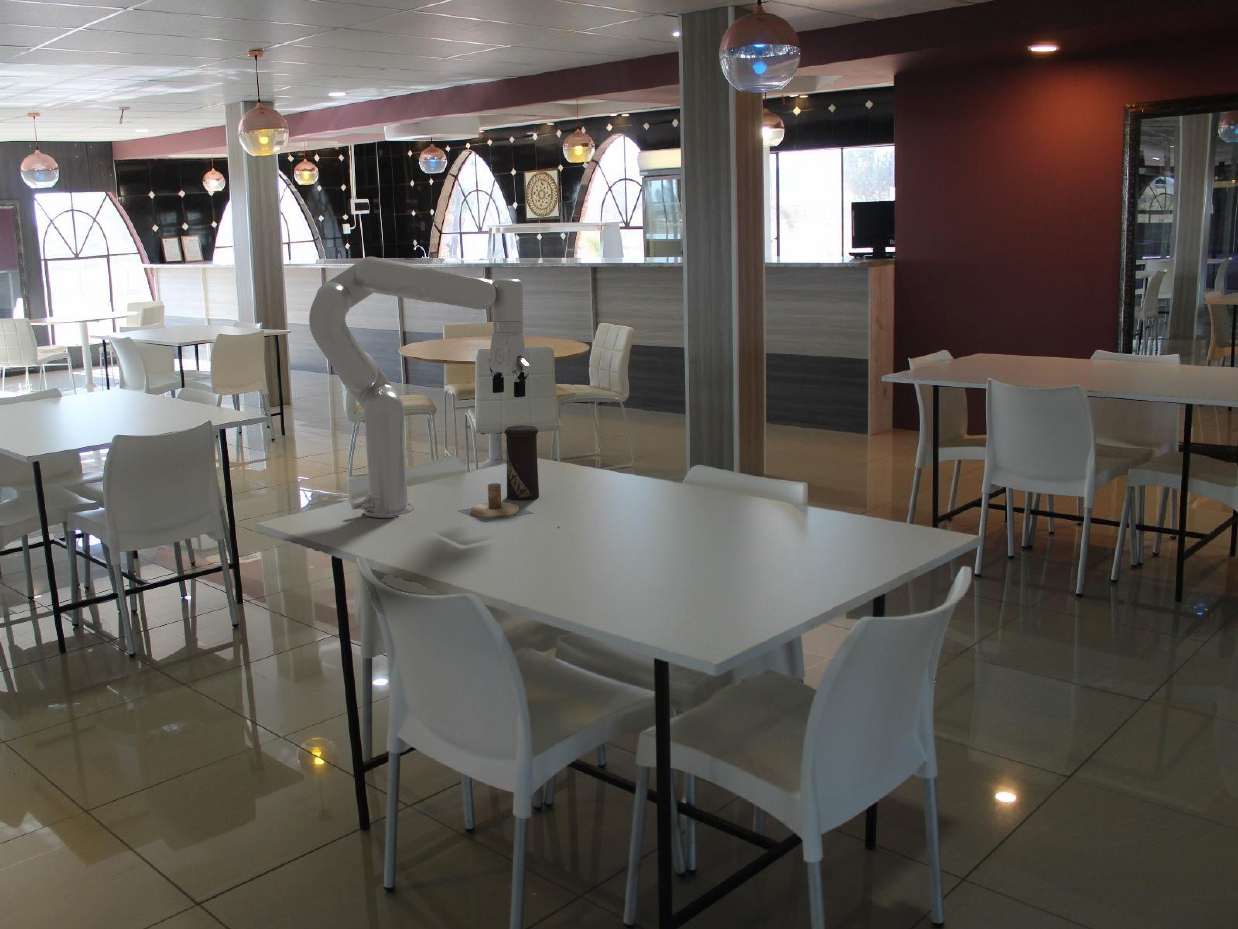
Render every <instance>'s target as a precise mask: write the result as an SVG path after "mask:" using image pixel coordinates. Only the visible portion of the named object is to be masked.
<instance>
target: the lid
mask: <svg viewBox="0 0 1238 929" xmlns="http://www.w3.org/2000/svg"><path fill="white" fill-rule="evenodd" d="M501 486H502V484H501V483H497V482H495V483H488V484H487V497H488V498H487V499H488V502H483V503H480V504H479V503H478V504H476V505H473V506H472V507H470V508H471V514H473V515H474V516H478V517H484V518H500V517H508V516H512V515H515V514H517V513H518V512H519V508H520V506H519V505H518V504H516V503H512V502H507V501H506V502H505V501H502V487H501Z"/></svg>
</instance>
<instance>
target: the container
mask: <svg viewBox="0 0 1238 929" xmlns="http://www.w3.org/2000/svg"><path fill="white" fill-rule="evenodd" d="M538 433H539V429H538V428H537V427H536V426H533V425H527V424H525V425H522V424H521V425H519V424H518V425H512V426H507V427H506V428H505V429H504V434H505V437H506V440H505V442H506V499H507V500H509V501H519V502H521V501H523V502H524V501H534V500H537V499H539V498H540V490H539V489H540V488H539V487H540V485H539V470H538V469H539V467H538V448H537V447H538V445H537V444H538V442H537V440H538V438H537V437H538V436H537V435H538Z"/></svg>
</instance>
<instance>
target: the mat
mask: <svg viewBox="0 0 1238 929" xmlns="http://www.w3.org/2000/svg"><path fill="white" fill-rule="evenodd" d="M471 508H472V507H470V508H465V509H464V508H463V509H459V510H457V512H459V513H461V514H464V515H466V516H469V517H472V518H474V519H475V520H479V521H481V522H484V523H488V522H493V521H499V520H504V519H509V518H515V517H520V516H524V515H525V516H526V515H530V514H534V512H533V511H530V510H526V509H525V508H521V507H519V512H518V513H517V514H515V515H512V516H508V517H500V518H484V517H478V516H474V515H473V514H471Z"/></svg>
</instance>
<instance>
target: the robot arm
mask: <svg viewBox="0 0 1238 929" xmlns="http://www.w3.org/2000/svg"><path fill="white" fill-rule="evenodd" d="M374 293H375V294H378V295H379V294H380V295H385V296H392V297H398V298H403V299H408V300H409V299H410V300H416V301H422V302H426V303H439V304H444V305H451V306H455V307H462V308H468V309H472V310H473V309H474V310H486V309H489V308H490V307H492V310H493V312H492V314H493V317H492V319H493V323H492V324H493V329H492V330H493V331H492V335H491V341H490V354H489V356H490V357H489V358H488V360H487V362H488V365H489V371H490V373H491V374H490V375H491V378H492V393H493V394H499V393H500V394H501V393H504V391H505V377H504V376H503V375H504V374H507V375H511V374H512V377H513V378H514V381H513V397H514V398H524V397H526V382H527V379H528V377H529V371H530V368H531V366H530V364H529V363H528V362H527V361H526V348H525V339H524V297H523V296H524V287H523V282H522V280H520V279H516V278H497V279H490V278H483V277H471V276H466V275H460V274H455V273H449V272H446V271H442V270H438V269H435V268H432V267H430V266H429V267H428V266H426V265H419V264H414V263H408V262H402V261H397V260H392V259H391V260H390V259H384V258H380V257H376V256H366V257H363V258H361V259H360V260H358V261H357V262H356V263H354V264H353V265H352V266H350V267H349V268H347V269H346V270H343V271H342V272H340V273H339V274H338V275H335V276H334V277H332V278H331V279H330V280H327V281H326V282H324V283H323V284H322V285H321V286H320V287H319V288H318V289H317V292H316V294H315V297H314V299H313V301H312V304H311V305H310V311H309V315H308V316H309V318H308V322H309V329H310V332H311V336H312V337H313V340H314V342H315V343H316V345H317V347H318V348H319V349H320V351H321V352H322V353H323V355H324V357H325V358H326V359H327V361H328V362H329V364H330V365H331V367H332V368H333V369H334V371H335V373H336V374H337V375H338V378H339V380H340V381H341V383H342V384H343V386H345V387H346V388H348V390H349V392H350V393H351V394H352V396H353V397H354V398H355V399H356V401H357V402H358V404H359V405H360V406H361V408H362V409H363V411H364V419H365V424H364V425H365V441H366V442H365V443H366V457H367V459H366V460H367V461H366V462H367V477H368V494H367V495H365V498H363V499H362V500H361V501H360V500H359V501H358V500H357V501H352V502H351V503H350V507H351V509H352V510H353V511H354V510H359V509H360V510H361V511H363V514H364V515H365V516H367V517H370V518H378V519H379V518H380V519H389V518H392V519H393V518H398V517H400V515H404V514H409V513H411V512H413V511H414V510H415V506H414V504H412V503H409V501H408V500H409V499H408V496H409V494H408V480H407V479H408V474H407V458H406V457H407V456H406V453H407V452H406V440H405V439H406V437H405V432H406V431H405V422H406V421H405V419H406V418H405V406H404V403H403V400H402V398H401V396H400V395H399V393H398V392H397V390H396V389H395V388H394V386H393V385H392V383H391V382H390V381H389V380H388V378H387V376H386V375H385V374H384V372H383V370H381V368H380V366H379V365H378V364H377V362H376V361H375V359H374V358H373V357H372V355H370V354H369V353H367V352H366V351H365V350H364V348H362V345H360V343H359V342H358V340H357V339H356V337H355V336H354V334H353V333H352V331H351V330H350V328H349V327H348V326H347V322H346V316H347V314H348V312H349V311H350V310H351V308H353V307H355V306H356V305H358V303H361V302H363V301H364V300H365V299H367V298H368V297H369V296H371V295H373V294H374Z"/></svg>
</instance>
